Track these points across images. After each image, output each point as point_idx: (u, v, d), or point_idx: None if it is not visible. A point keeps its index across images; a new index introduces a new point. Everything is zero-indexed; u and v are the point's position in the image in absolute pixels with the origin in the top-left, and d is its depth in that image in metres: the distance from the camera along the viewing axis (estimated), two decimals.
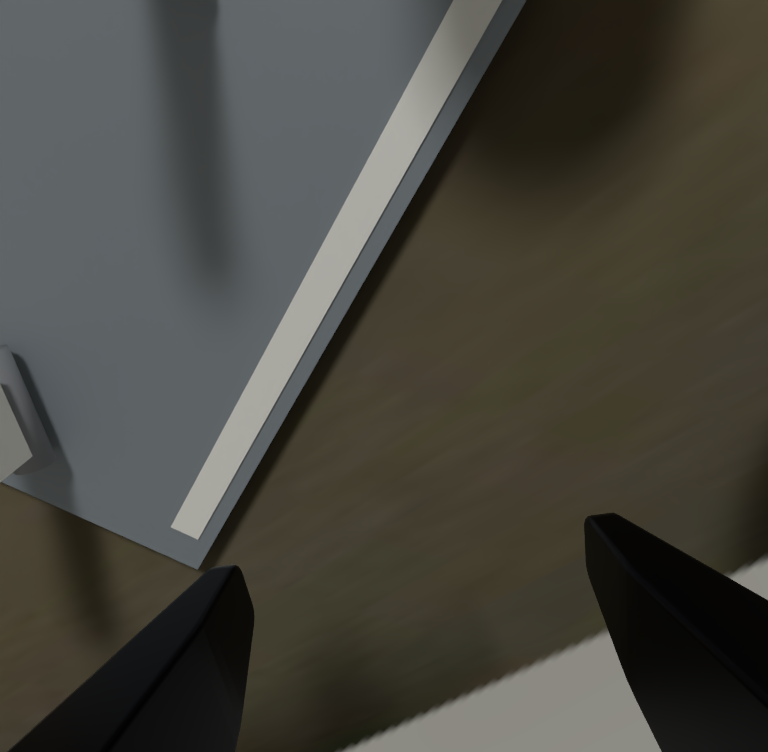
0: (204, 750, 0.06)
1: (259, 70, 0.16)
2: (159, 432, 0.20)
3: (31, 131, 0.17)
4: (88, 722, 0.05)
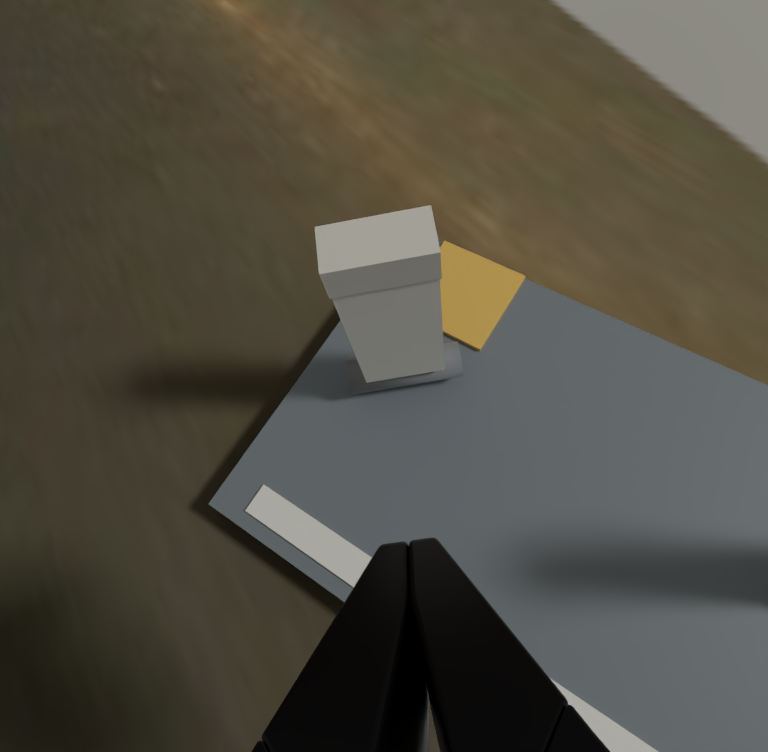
0: (418, 725, 0.06)
1: (732, 644, 0.17)
2: (369, 489, 0.21)
3: (644, 429, 0.20)
4: (345, 691, 0.05)
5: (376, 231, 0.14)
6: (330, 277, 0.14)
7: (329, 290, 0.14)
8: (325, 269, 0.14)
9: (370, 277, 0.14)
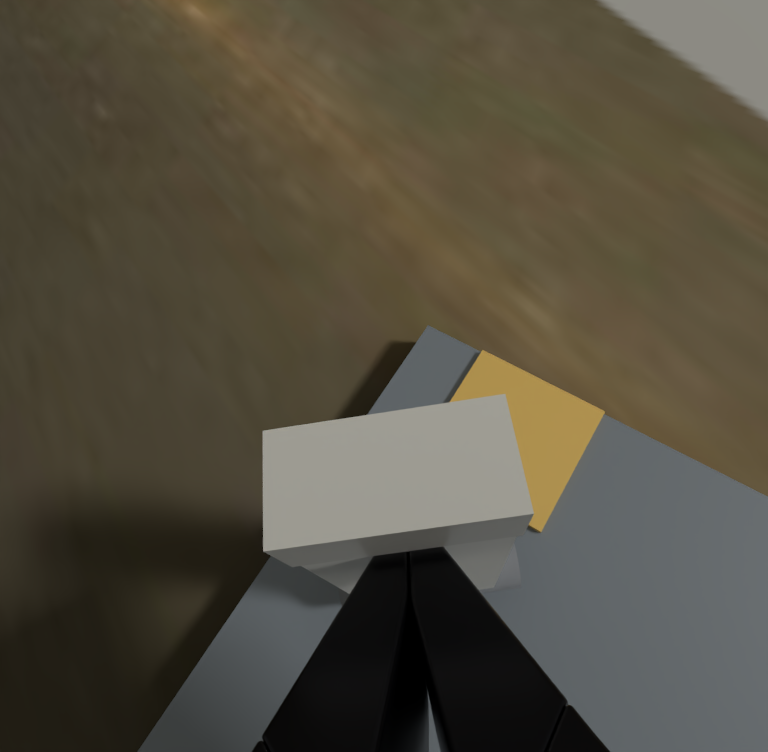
0: (418, 725, 0.06)
1: None
2: None
3: None
4: (345, 691, 0.05)
5: (388, 446, 0.07)
6: (290, 552, 0.06)
7: (290, 561, 0.07)
8: (277, 539, 0.06)
9: (376, 545, 0.07)
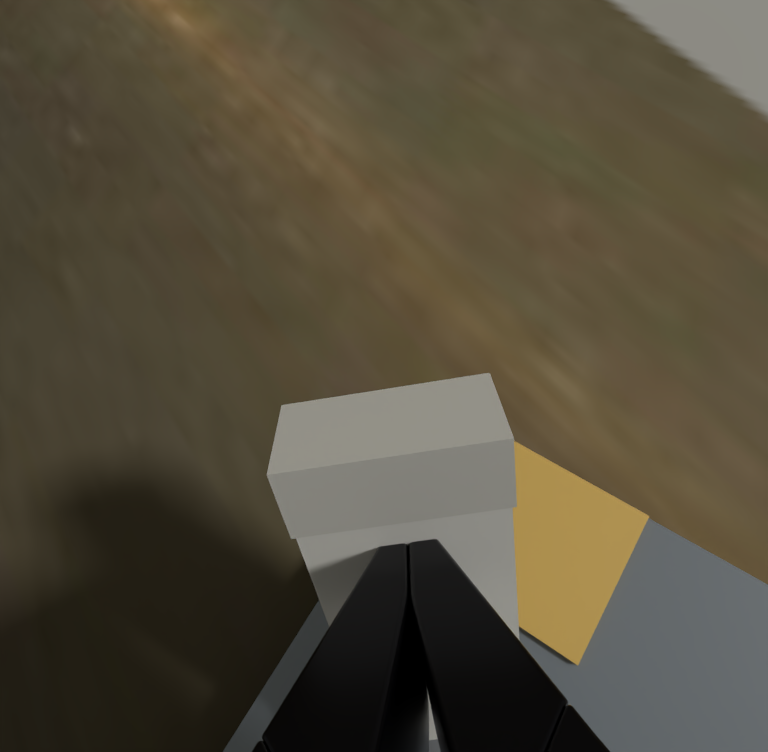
0: (418, 725, 0.06)
1: None
2: None
3: None
4: (346, 691, 0.05)
5: (388, 411, 0.08)
6: (290, 486, 0.07)
7: (289, 518, 0.07)
8: (281, 467, 0.07)
9: (371, 492, 0.07)
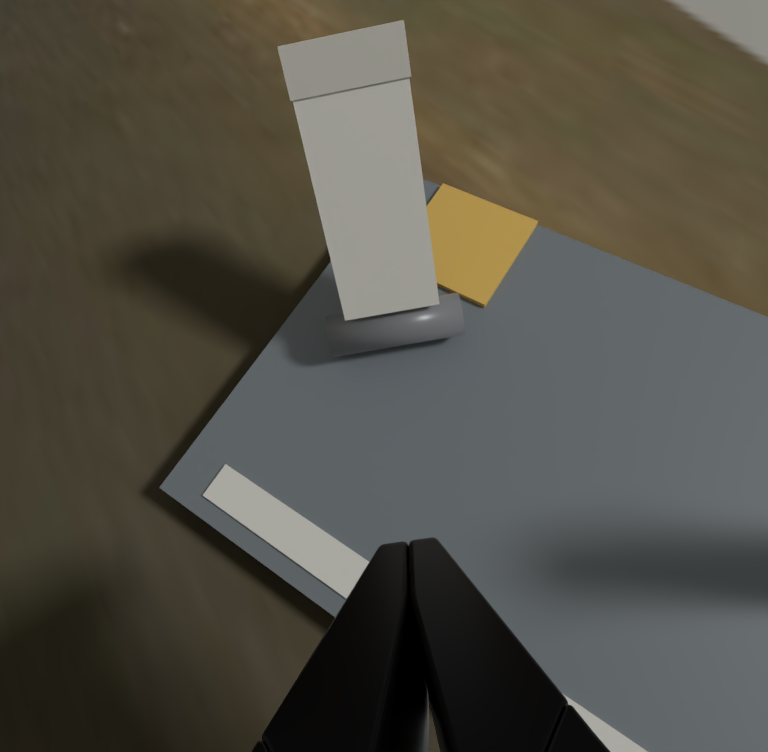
0: (418, 725, 0.06)
1: None
2: (351, 470, 0.17)
3: (685, 396, 0.17)
4: (345, 691, 0.05)
5: None
6: (290, 56, 0.13)
7: (289, 83, 0.14)
8: (285, 45, 0.13)
9: (332, 62, 0.13)
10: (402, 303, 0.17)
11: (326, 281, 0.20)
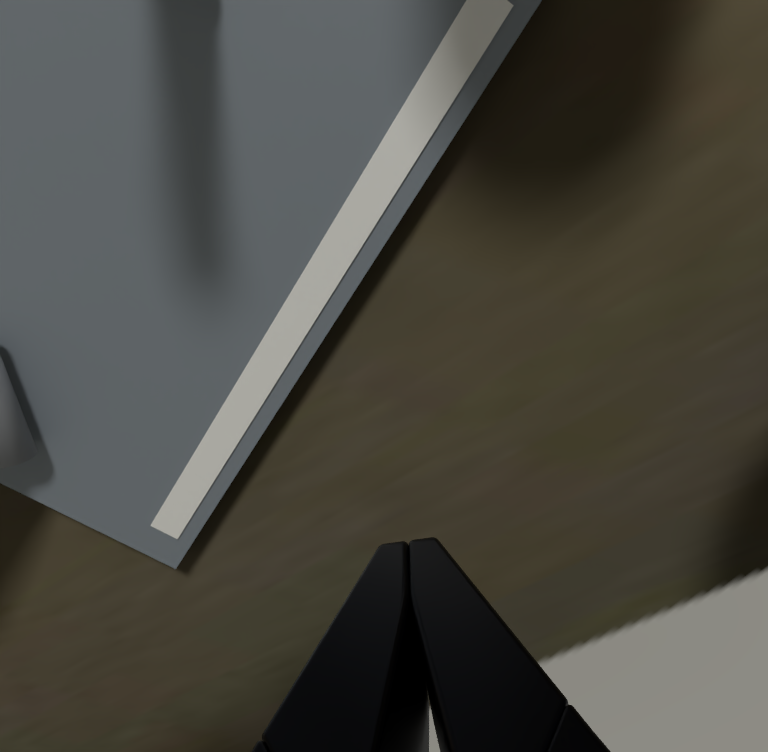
0: (418, 725, 0.06)
1: (259, 75, 0.16)
2: (143, 430, 0.20)
3: (27, 124, 0.17)
4: (345, 691, 0.05)
5: None
6: None
7: None
8: None
9: None
10: None
11: None
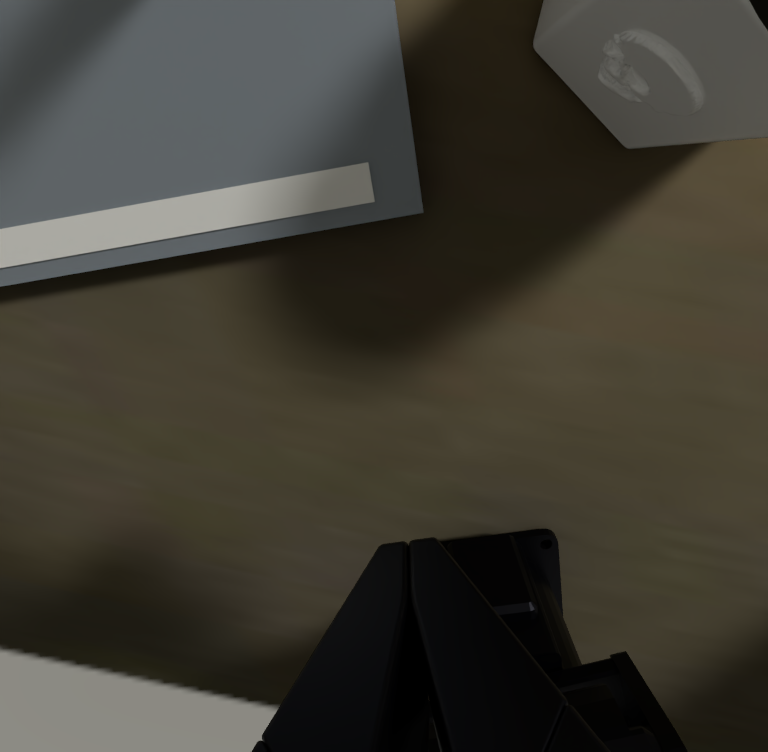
0: (418, 725, 0.06)
1: (160, 51, 0.16)
2: None
3: None
4: (345, 691, 0.05)
5: None
6: None
7: None
8: None
9: None
10: None
11: None
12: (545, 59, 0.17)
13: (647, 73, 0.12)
